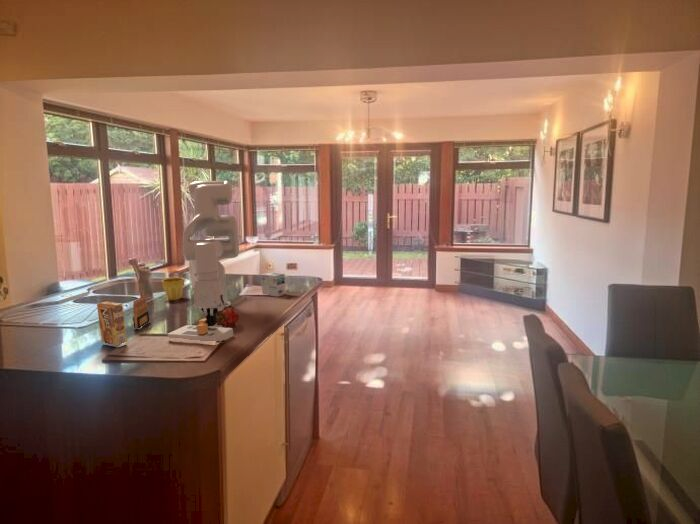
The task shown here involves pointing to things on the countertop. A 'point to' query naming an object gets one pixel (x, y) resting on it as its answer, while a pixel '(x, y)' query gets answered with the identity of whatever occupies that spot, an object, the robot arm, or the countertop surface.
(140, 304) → the orange flat piece
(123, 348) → the countertop surface
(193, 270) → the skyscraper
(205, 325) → the switch tab
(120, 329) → the candy box
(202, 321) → the switch tab
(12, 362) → the countertop surface
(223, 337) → the switch panel
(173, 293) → the plant pot
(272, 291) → the light bulb box
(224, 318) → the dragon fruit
